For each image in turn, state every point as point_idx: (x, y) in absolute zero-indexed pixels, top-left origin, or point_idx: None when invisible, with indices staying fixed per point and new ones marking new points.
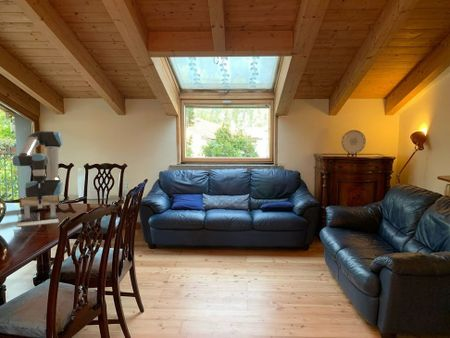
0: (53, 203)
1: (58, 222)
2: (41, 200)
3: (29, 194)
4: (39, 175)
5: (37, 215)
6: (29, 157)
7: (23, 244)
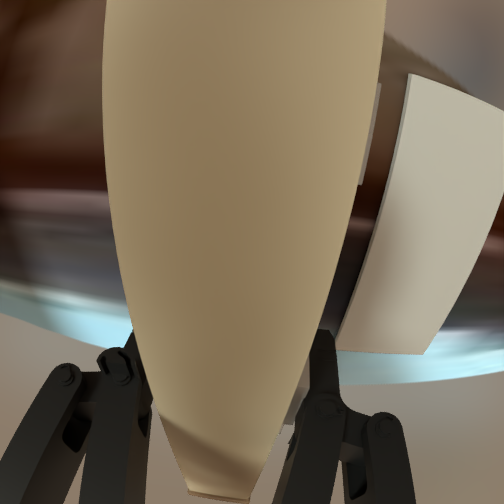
0: (371, 119)
1: None
2: (307, 371)
3: None
4: None
5: (91, 213)
6: None
7: None
